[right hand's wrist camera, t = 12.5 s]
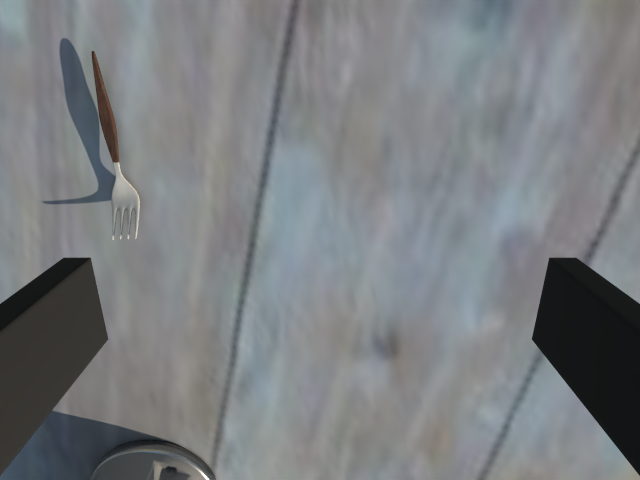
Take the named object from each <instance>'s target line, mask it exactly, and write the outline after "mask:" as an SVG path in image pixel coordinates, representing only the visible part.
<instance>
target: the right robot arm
mask: <svg viewBox="0 0 640 480" xmlns="http://www.w3.org/2000/svg"><path fill="white" fill-rule="evenodd" d="M107 340H108V337H107V332H106V327H105V323H104V318H103V313H102V309H101V304H100V299H99V295H98V290H97V285H96V281H95V276H94V271H93V267H92V262H91V258H63V259H61V260H60V261H59V262H57V263H56V264H55V265H53V266H52V267H50V268H49V269H48V270H46V271H45V272H44V273H42V274H41V275H39V276H38V277H37V278H35V279H34V280H33V281H31V282H30V283H29V284H27V285H26V286H24V287H23V288H22V289H20V290H19V291H18V292H16V293H15V294H13V295H12V296H11V297H9V298H8V299H7V300H5V301H4V302H2V303H1V304H0V475H1V474H2V473H3V472H4V470H5V469H6V468H7V466H8V465H9V464H10V463H11V461H12V460H13V459H14V458H15V456H16V455H17V454H18V453H19V451H20V450H21V449H22V447H23V446H24V445H25V444H26V442H27V441H28V440H29V439H30V437H31V436H32V435H33V434H34V432H35V431H36V430H37V429H38V427H39V426H40V425H41V423H42V422H43V421H44V420H45V418H46V417H47V416H48V415H49V413H50V412H51V411H52V410H53V408H54V407H55V406H56V405H57V403H58V402H59V401H60V399H61V398H62V397H63V396H64V394H65V393H66V392H67V391H68V389H69V388H70V387H71V386H72V384H73V383H74V382H75V380H76V379H77V378H78V377H79V375H80V374H81V373H82V372H83V370H84V369H85V368H86V367H87V365H88V364H89V363H90V362H91V360H92V359H93V358H94V356H95V355H96V354H97V353H98V351H99V350H100V349H101V348H102V346H103V345H104V344H105V343H106V341H107ZM532 340H533V341H534V343H535V344H536V345H537V346H538V348H539V349H540V350H541V351H542V353H543V354H544V355H545V356H546V358H547V359H548V360H549V362H550V363H551V364H552V365H553V367H554V368H555V369H556V370H557V372H558V373H559V374H560V375H561V377H562V378H563V379H564V380H565V382H566V383H567V384H568V386H569V387H570V388H571V389H572V391H573V392H574V393H575V394H576V396H577V397H578V398H579V399H580V401H581V402H582V403H583V405H584V406H585V407H586V408H587V410H588V411H589V412H590V413H591V415H592V416H593V417H594V418H595V420H596V421H597V422H598V423H599V425H600V426H601V427H602V429H603V430H604V431H605V432H606V434H607V435H608V436H609V437H610V439H611V440H612V441H613V442H614V444H615V445H616V446H617V447H618V449H619V450H620V451H621V453H622V454H623V455H624V456H625V458H626V459H627V460H628V461H629V463H630V464H631V465H632V466H633V468H634V469H635V470H636V472H637V473H638V474H639V475H640V304H639V303H638V302H636V301H635V300H633V299H632V298H631V297H629V296H628V295H627V294H625V293H624V292H622V291H621V290H620V289H618V288H617V287H616V286H614V285H613V284H611V283H610V282H609V281H607V280H606V279H605V278H603V277H602V276H601V275H599V274H598V273H596V272H595V271H594V270H592V269H591V268H590V267H588V266H587V265H585V264H584V263H583V262H581V261H580V260H579V259H577V258H549V262H548V267H547V271H546V276H545V281H544V285H543V290H542V295H541V299H540V304H539V309H538V313H537V318H536V323H535V327H534V332H533V337H532ZM90 480H216V479H215V476H214V474H213V472H212V471H211V469H210V468H209V467H208V465H207V464H206V463H205V462H204V461H203V460H202V459H200V458H199V457H198V456H197V455H195V454H194V453H192V452H190V451H188V450H187V449H184V448H182V447H180V446H177V445H174V444H170V443H166V442H161V441H135V442H130V443H126V444H123V445H121V446H118V447H116V448H114V449H113V450H111V451H110V452H108V453H107V454H106V455H105V456H104V457H103V458H102V459H101V461H100V462H99V464H98V466H97V468H96V469H95V471H94V473H93V475H92V477H91V479H90Z"/></svg>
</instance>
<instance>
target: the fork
mask: <svg viewBox="0 0 640 480" xmlns="http://www.w3.org/2000/svg"><path fill="white" fill-rule="evenodd" d="M92 61H93V70H94V77H95V84H96V92H97V101H98V110H99V117H100V122H101V126H102V130H103V133H104V136H105V140H106V143H107V146H108V149H109V152H110V155H111V158H112V161H113V164H114V167H115V171H116V179H115V183H114V186H113V190H112V197H111V200H112V212H113V233H112V240H113V239H114V232H115V224H116V214H117V210H119V211H120V239H121V237H122V229H123V220H124V211H125V210H127V213H128V239H129V233H130V225H131V215H132V210H133V209H134V210H135V239H136V238H137V230H138V220H139V207H140V200H139V196H138V193H137V192H136V190H135V189H134V188H133V187H132V185H131V184H130V183H129V182H128V181H127V180H126V179H125V178H124V177H123V175H122V174H121V171H120V165H119V153H118V141H117V132H116V125H115V120H114V116H113V113H112V109H111V106H110V103H109V100H108V96H107V93H106V90H105V86H104V83H103V79H102V75H101V72H100V68H99V65H98V61H97V58H96V55H95V52H94V51H92Z"/></svg>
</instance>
